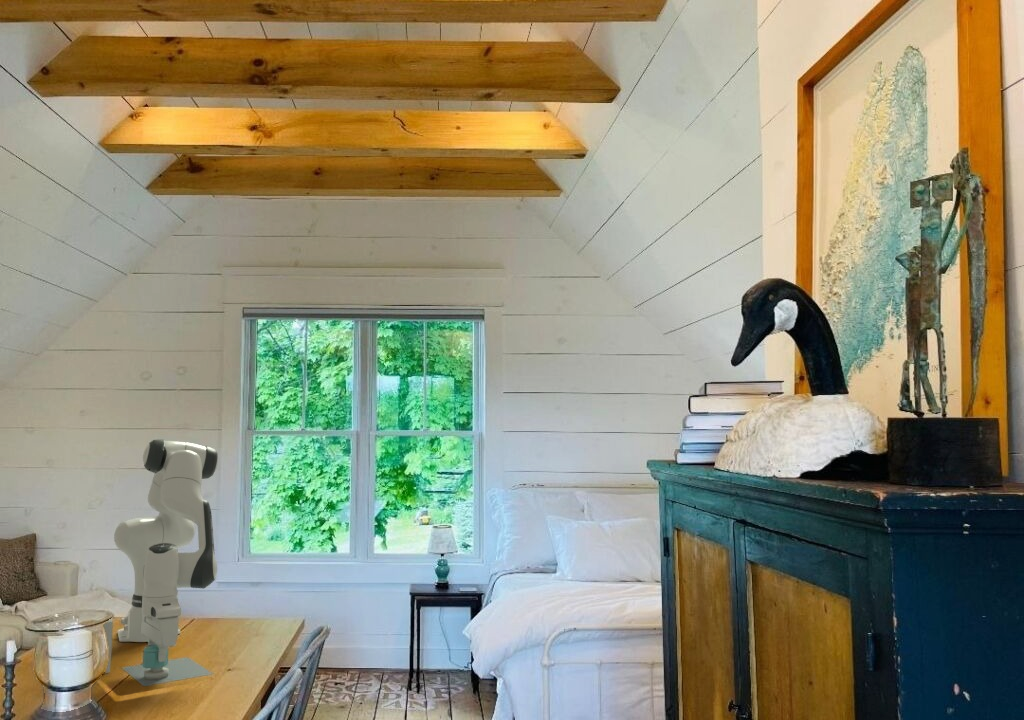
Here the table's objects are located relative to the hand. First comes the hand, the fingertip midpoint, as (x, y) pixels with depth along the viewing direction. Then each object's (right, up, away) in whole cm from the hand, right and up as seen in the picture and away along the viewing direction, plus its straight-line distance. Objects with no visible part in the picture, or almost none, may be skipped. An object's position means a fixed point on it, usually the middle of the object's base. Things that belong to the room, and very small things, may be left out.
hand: (157, 658), depth 217 cm
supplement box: (-20, -7, +5) cm, 22 cm away
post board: (+1, -7, +5) cm, 8 cm away
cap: (0, -2, -1) cm, 2 cm away
